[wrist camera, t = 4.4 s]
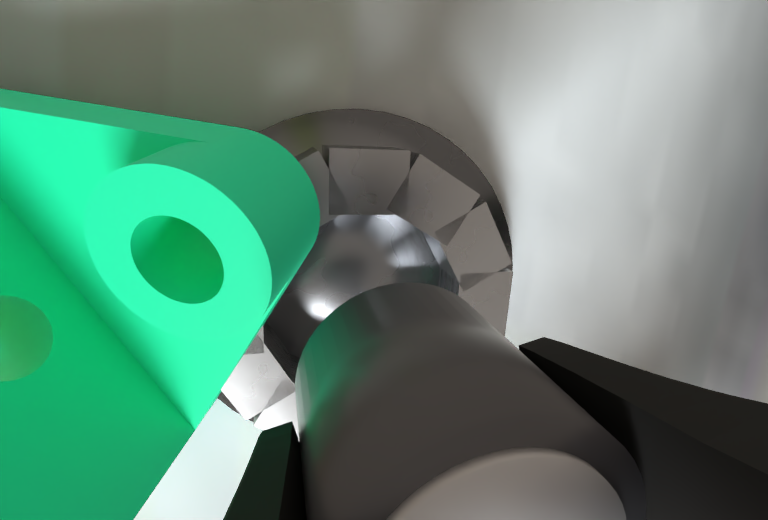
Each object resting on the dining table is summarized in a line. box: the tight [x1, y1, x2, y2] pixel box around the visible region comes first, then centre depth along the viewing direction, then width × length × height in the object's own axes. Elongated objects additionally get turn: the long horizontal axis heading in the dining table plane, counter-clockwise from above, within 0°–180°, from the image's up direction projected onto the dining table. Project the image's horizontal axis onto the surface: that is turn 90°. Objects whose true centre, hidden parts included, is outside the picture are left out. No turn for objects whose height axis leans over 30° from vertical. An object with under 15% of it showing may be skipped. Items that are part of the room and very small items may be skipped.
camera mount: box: [0, 89, 320, 520], centre depth 10 cm, size 12×8×10 cm
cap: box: [295, 282, 647, 520], centre depth 9 cm, size 5×5×5 cm
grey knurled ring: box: [217, 109, 513, 442], centre depth 16 cm, size 13×13×3 cm
